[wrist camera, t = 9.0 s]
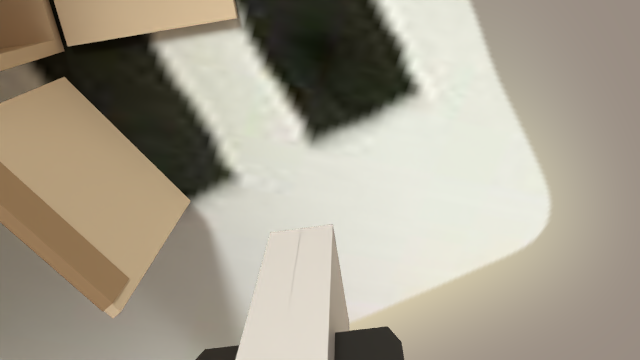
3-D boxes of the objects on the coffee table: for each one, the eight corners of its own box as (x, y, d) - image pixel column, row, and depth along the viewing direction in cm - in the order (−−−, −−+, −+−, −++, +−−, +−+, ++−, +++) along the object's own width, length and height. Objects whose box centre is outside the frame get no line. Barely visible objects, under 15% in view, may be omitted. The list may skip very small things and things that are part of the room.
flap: (191, 200, 28) (121, 311, 19) (184, 206, 28) (111, 319, 19) (64, 75, 26) (-79, 134, 17) (58, 83, 26) (-88, 145, 17)
